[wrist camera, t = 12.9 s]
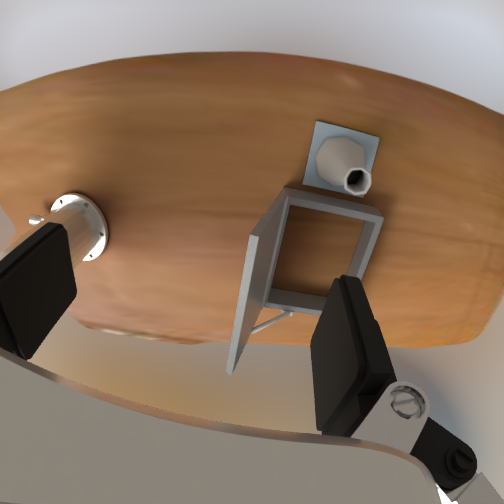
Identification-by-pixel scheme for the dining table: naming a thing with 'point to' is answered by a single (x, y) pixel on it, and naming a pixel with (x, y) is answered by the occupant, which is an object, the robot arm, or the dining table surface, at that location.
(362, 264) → the case
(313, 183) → the mat
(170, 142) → the dining table surface
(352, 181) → the flask
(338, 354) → the robot arm
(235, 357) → the lid and stay
